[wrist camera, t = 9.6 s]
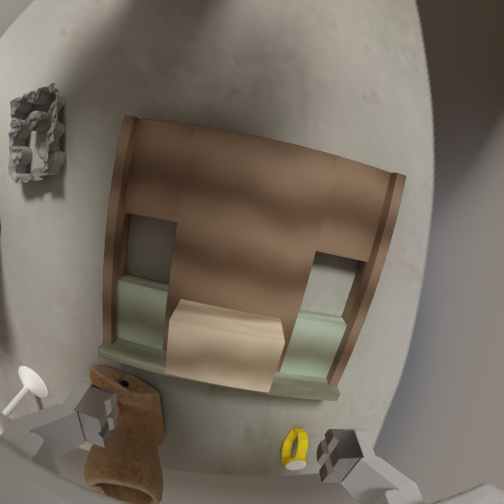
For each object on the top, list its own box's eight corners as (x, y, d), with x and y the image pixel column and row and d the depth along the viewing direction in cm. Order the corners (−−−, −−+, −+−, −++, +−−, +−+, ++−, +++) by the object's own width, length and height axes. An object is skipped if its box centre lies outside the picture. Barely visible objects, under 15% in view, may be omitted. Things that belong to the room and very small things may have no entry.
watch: (293, 445, 37) (296, 476, 32) (276, 443, 37) (277, 474, 31) (310, 423, 35) (315, 456, 30) (292, 420, 35) (295, 454, 30)
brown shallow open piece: (138, 121, 26) (117, 112, 21) (390, 175, 27) (414, 176, 23) (115, 333, 32) (98, 355, 27) (327, 374, 33) (336, 401, 28)
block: (180, 298, 28) (169, 319, 24) (280, 318, 29) (285, 342, 25) (175, 348, 30) (165, 372, 26) (266, 365, 30) (268, 392, 26)
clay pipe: (178, 447, 37) (161, 525, 23) (107, 427, 37) (74, 497, 22) (181, 378, 33) (152, 474, 19) (94, 355, 33) (39, 432, 18)
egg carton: (69, 175, 27) (48, 177, 24) (25, 184, 28) (4, 187, 24) (71, 85, 25) (52, 78, 21) (27, 102, 25) (6, 97, 21)
